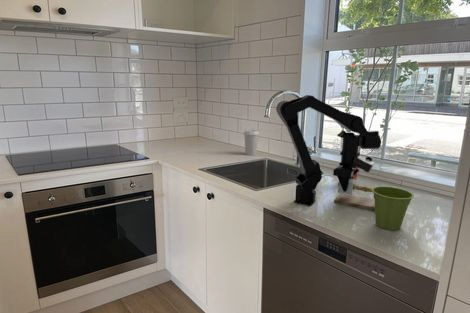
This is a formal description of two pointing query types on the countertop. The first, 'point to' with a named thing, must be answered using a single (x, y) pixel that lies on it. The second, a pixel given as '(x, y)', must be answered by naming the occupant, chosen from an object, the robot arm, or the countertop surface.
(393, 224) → the plant pot
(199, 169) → the countertop surface
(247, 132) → the coffee cup
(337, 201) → the cord clamp board
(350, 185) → the white cube with hole
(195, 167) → the countertop surface
